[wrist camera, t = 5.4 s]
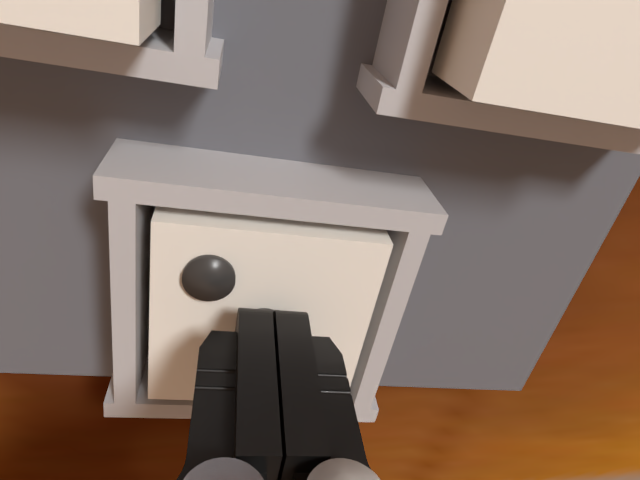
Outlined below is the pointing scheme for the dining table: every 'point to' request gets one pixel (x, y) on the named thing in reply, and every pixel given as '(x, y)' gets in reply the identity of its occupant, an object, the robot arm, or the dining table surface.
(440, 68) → the button two
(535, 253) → the button board
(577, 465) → the dining table surface
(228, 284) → the button three
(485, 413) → the dining table surface
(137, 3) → the button one
